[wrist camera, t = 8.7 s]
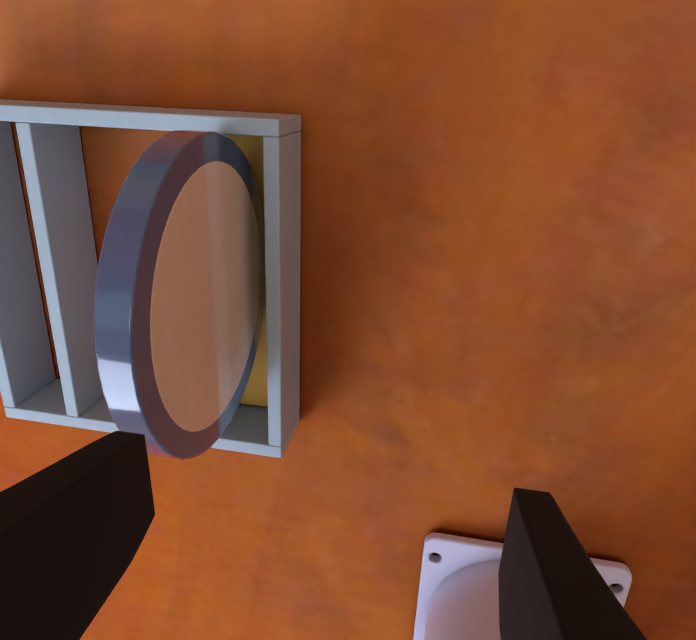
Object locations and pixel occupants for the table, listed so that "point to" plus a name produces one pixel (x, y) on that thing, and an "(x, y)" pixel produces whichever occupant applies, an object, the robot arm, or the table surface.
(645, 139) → the table surface
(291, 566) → the table surface
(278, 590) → the table surface
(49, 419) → the rack
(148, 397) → the plate
